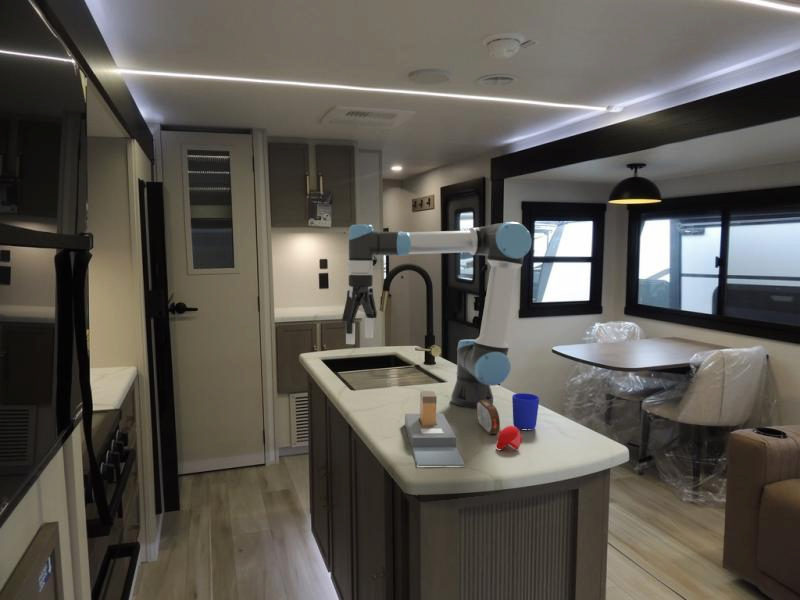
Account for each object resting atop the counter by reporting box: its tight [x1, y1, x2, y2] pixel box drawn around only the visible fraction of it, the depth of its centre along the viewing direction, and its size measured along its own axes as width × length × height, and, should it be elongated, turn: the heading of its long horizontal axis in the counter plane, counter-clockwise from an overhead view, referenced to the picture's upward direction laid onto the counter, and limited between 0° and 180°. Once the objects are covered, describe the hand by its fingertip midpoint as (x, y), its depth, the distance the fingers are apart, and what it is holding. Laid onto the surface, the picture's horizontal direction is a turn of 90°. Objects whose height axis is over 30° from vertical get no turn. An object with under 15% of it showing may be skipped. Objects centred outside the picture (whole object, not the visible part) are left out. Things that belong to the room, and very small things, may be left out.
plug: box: [419, 390, 437, 425], centre depth 162 cm, size 4×6×12 cm, turn 5°
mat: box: [412, 446, 466, 467], centre depth 142 cm, size 12×12×1 cm
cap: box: [495, 425, 523, 451], centre depth 151 cm, size 8×6×6 cm
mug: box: [511, 392, 540, 431], centre depth 170 cm, size 8×12×10 cm
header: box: [404, 413, 457, 451], centre depth 159 cm, size 12×22×4 cm, turn 5°
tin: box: [476, 399, 501, 435], centre depth 166 cm, size 15×3×8 cm, turn 9°
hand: (360, 340), depth 172 cm, fingers open, 13 cm apart
